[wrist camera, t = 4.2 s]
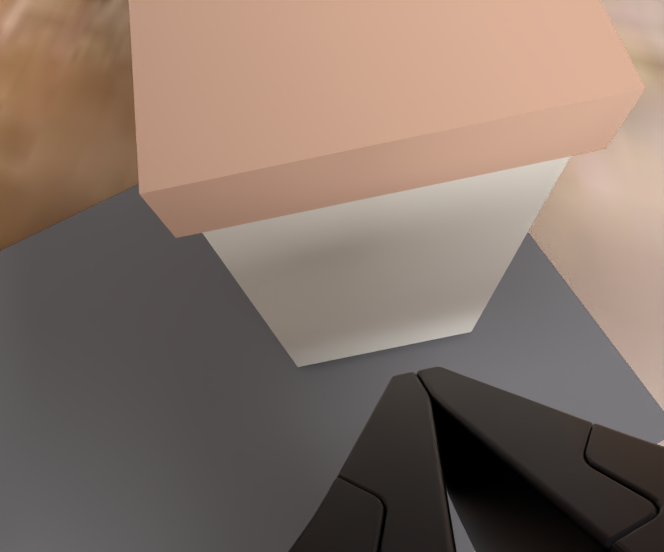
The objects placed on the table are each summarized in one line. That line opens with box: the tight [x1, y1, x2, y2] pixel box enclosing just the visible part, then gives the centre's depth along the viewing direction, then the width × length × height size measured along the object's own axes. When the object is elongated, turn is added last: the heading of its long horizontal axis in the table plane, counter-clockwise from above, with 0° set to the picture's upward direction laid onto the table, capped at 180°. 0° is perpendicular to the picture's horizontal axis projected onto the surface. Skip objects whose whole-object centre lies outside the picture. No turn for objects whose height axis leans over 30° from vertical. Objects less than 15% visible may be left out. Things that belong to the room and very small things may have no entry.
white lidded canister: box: [129, 0, 646, 367], centre depth 13 cm, size 6×6×11 cm
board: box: [0, 184, 664, 552], centre depth 17 cm, size 28×16×1 cm, turn 118°
